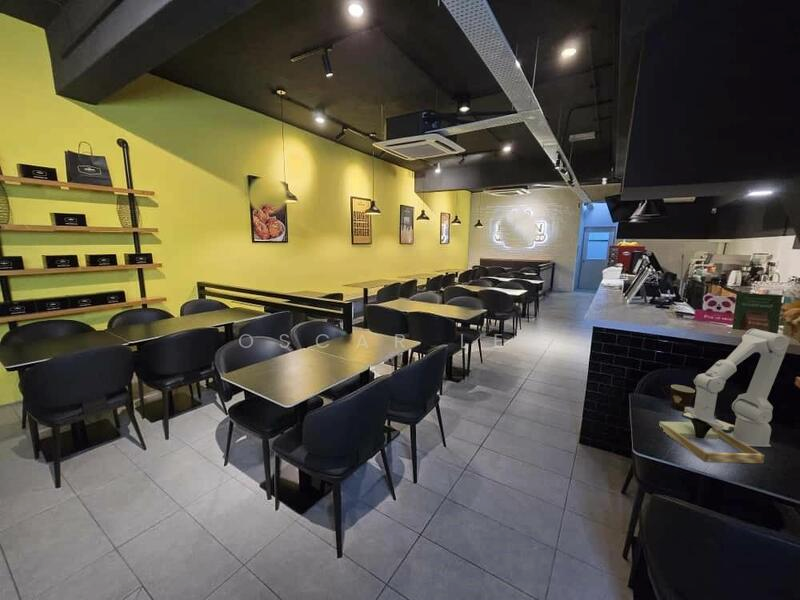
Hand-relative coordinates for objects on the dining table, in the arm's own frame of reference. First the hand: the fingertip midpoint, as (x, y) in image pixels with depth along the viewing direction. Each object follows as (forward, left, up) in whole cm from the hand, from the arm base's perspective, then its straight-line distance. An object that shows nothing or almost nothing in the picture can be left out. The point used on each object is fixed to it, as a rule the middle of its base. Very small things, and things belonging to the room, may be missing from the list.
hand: (699, 437), depth 128 cm
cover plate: (0, -6, -1) cm, 6 cm away
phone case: (-16, -14, -2) cm, 21 cm away
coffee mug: (-14, -28, -1) cm, 31 cm away
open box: (0, +4, -1) cm, 4 cm away
